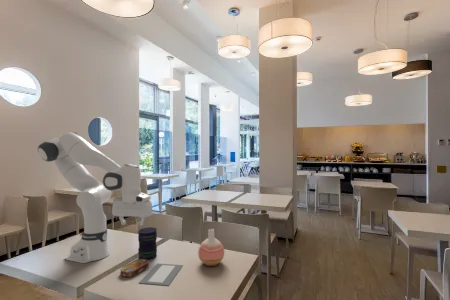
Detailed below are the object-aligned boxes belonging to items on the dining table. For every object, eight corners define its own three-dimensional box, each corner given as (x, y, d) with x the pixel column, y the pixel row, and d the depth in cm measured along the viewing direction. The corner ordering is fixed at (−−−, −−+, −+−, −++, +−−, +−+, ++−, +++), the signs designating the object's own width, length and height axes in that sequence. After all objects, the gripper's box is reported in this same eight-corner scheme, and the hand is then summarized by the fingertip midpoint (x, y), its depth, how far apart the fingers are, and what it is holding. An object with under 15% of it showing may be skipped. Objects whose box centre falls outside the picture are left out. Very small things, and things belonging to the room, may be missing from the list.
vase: (229, 261, 130) (228, 228, 130) (216, 272, 118) (215, 235, 118) (207, 256, 136) (207, 224, 137) (193, 266, 124) (192, 231, 125)
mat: (138, 283, 108) (138, 282, 108) (157, 263, 127) (157, 263, 127) (168, 285, 106) (168, 285, 106) (182, 265, 125) (182, 265, 125)
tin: (129, 273, 112) (116, 268, 115) (129, 280, 112) (116, 275, 115) (152, 260, 125) (140, 256, 129) (151, 266, 125) (139, 262, 129)
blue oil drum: (156, 252, 142) (156, 226, 142) (157, 259, 133) (157, 231, 133) (138, 254, 139) (138, 228, 139) (137, 261, 130) (137, 233, 130)
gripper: (108, 197, 119) (109, 226, 119) (147, 198, 115) (147, 227, 115) (116, 195, 125) (117, 222, 125) (153, 196, 121) (154, 223, 121)
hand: (132, 225), depth 120 cm, fingers open, 8 cm apart
